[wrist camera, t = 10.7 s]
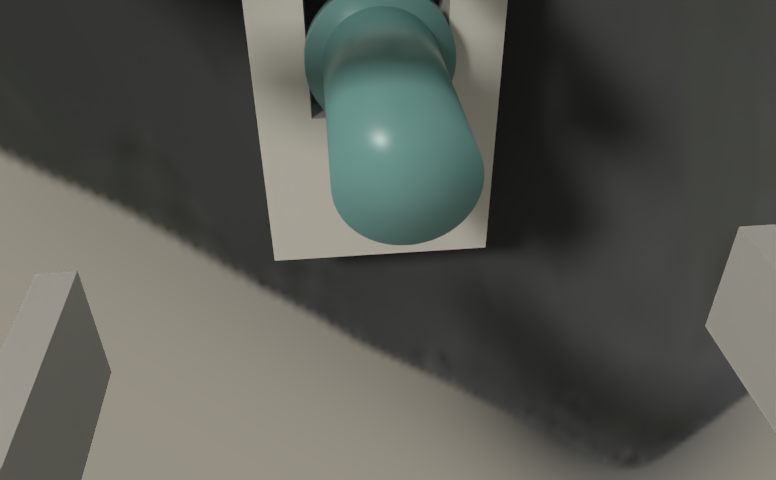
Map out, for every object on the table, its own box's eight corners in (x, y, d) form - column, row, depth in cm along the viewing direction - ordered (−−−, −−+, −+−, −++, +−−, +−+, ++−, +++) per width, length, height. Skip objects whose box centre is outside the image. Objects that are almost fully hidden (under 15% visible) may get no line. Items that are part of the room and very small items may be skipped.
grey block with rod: (500, -265, 24) (679, -236, 12) (468, 196, 35) (549, 439, 23) (222, -262, 23) (144, -228, 12) (277, 207, 34) (264, 462, 23)
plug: (444, -45, 26) (518, 88, 18) (437, 88, 29) (496, 257, 21) (299, -43, 26) (300, 94, 17) (307, 92, 29) (312, 267, 20)
